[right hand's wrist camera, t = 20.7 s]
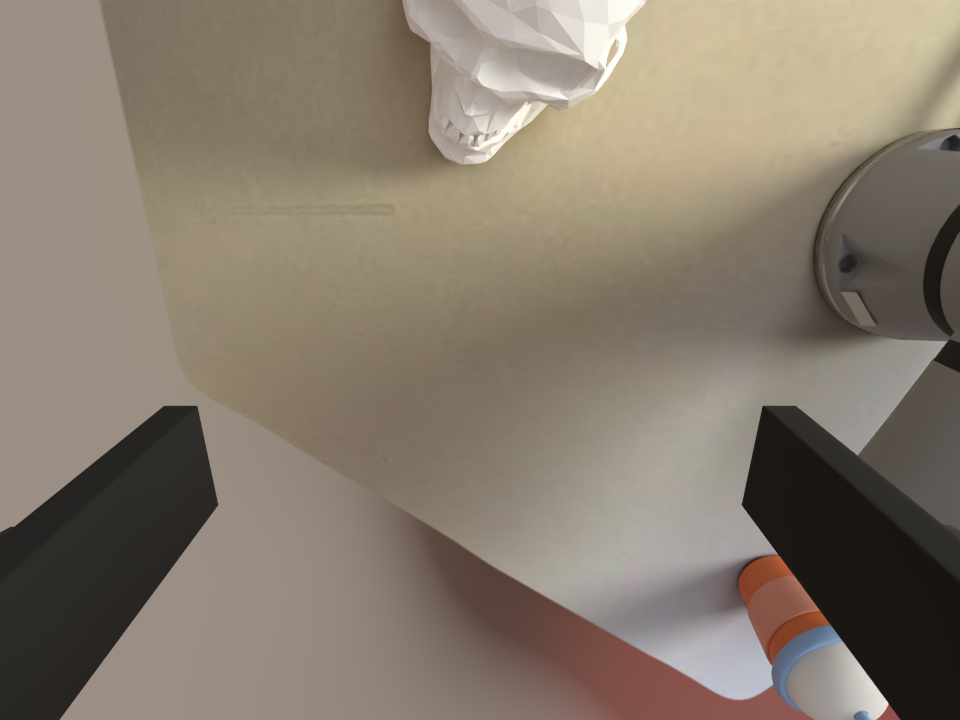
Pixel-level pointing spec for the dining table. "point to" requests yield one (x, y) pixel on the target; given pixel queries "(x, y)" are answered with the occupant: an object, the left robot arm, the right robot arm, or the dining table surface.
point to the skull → (511, 63)
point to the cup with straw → (805, 648)
